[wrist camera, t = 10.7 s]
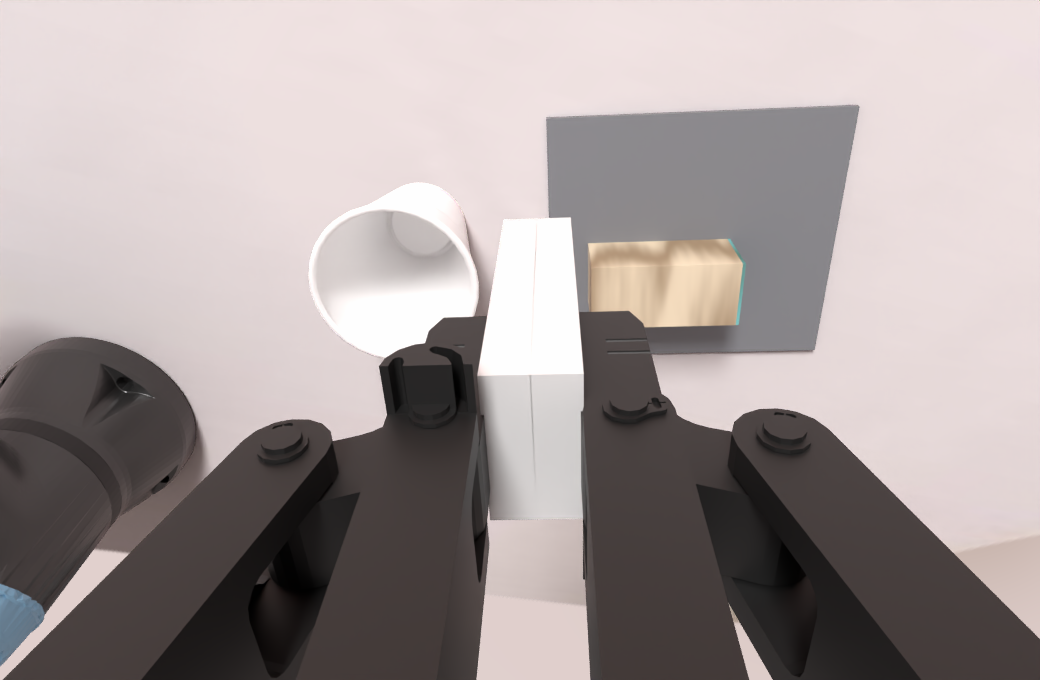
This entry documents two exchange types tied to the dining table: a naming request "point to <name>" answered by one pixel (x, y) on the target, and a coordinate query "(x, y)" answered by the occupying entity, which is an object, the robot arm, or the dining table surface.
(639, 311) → the beech block
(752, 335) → the mat
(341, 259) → the cup
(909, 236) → the dining table surface
